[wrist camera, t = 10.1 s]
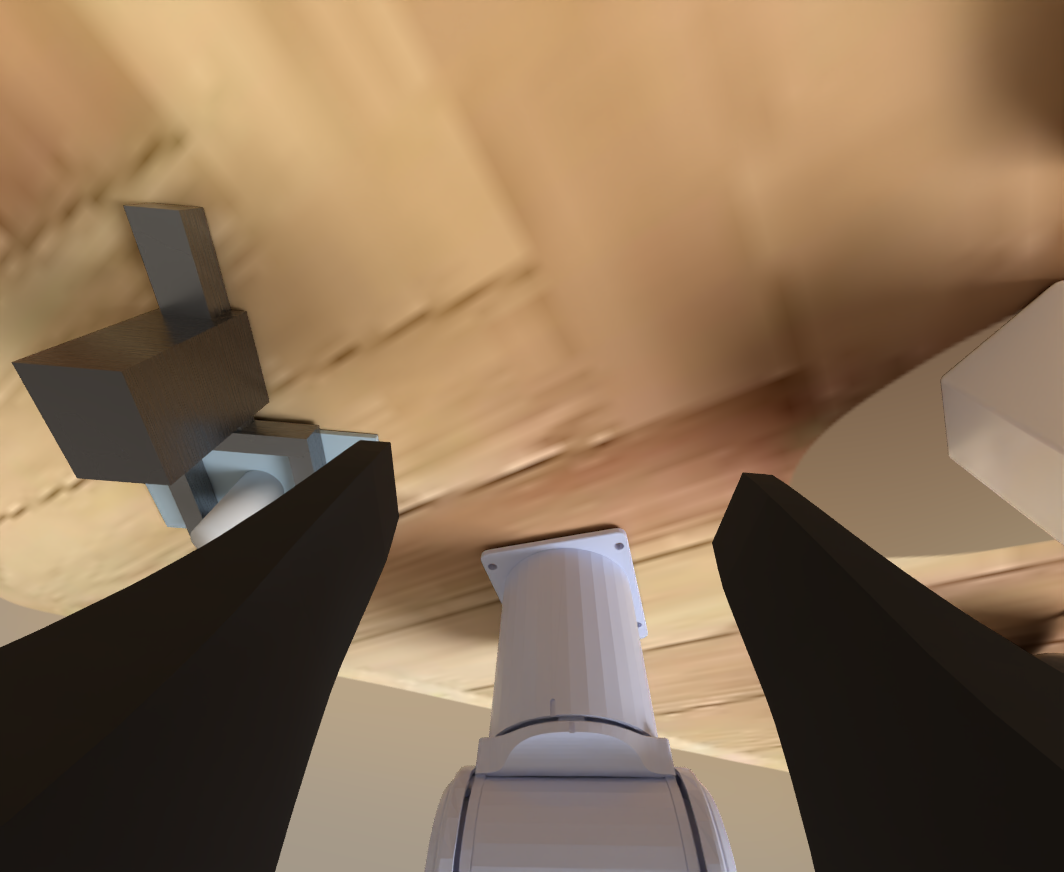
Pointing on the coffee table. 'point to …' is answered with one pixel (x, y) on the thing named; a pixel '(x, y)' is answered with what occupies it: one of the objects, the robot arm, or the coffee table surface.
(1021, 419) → the pale grey angular block
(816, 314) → the coffee table surface
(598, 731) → the robot arm
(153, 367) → the grey block with tab
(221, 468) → the keeper
